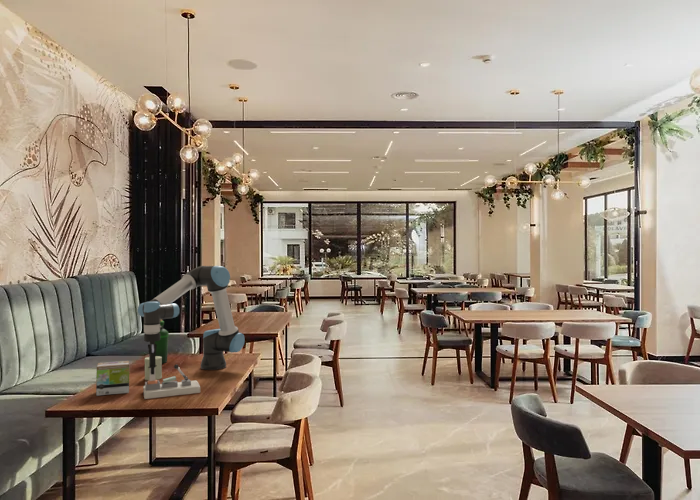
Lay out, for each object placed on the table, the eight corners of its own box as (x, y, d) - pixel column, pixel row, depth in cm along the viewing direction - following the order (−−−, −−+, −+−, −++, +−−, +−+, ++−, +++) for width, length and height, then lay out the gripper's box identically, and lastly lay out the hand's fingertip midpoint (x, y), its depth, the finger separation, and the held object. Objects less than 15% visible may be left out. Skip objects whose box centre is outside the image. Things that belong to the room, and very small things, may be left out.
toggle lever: (188, 377, 262) (176, 363, 259) (189, 378, 259) (177, 363, 257) (185, 380, 261) (172, 365, 259) (185, 381, 259) (173, 366, 256)
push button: (157, 385, 257) (157, 379, 257) (157, 387, 252) (157, 381, 252) (147, 386, 255) (147, 380, 255) (147, 388, 250) (147, 382, 250)
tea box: (96, 396, 250) (95, 366, 251) (97, 391, 260) (97, 362, 260) (129, 393, 256) (129, 363, 257) (129, 388, 266) (129, 359, 266)
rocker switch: (175, 378, 260) (175, 375, 260) (176, 379, 256) (175, 377, 256) (163, 381, 257) (162, 379, 257) (163, 383, 254) (163, 380, 254)
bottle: (162, 360, 335) (162, 317, 335) (172, 362, 328) (171, 318, 328) (147, 363, 326) (147, 319, 326) (157, 365, 320) (157, 320, 320)
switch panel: (196, 385, 269) (196, 374, 269) (200, 392, 256) (200, 380, 256) (143, 391, 258) (143, 380, 258) (144, 399, 245) (144, 386, 245)
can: (156, 380, 281) (155, 358, 281) (141, 380, 283) (140, 358, 283) (165, 376, 290) (165, 355, 290) (150, 376, 292) (150, 355, 292)
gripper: (161, 334, 249) (161, 382, 249) (159, 330, 261) (159, 376, 261) (144, 335, 246) (144, 384, 246) (143, 331, 258) (143, 378, 258)
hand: (152, 380), depth 253 cm, fingers closed
